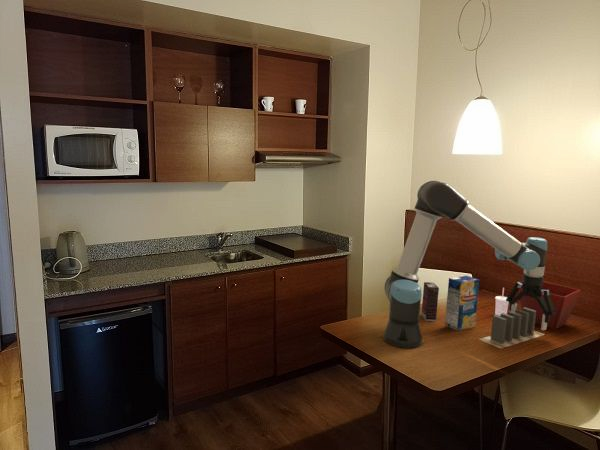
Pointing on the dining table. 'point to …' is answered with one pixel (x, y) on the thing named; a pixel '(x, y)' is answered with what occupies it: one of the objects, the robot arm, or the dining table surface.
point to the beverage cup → (501, 305)
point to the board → (514, 341)
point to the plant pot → (561, 301)
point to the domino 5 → (530, 320)
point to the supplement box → (430, 301)
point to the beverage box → (462, 302)
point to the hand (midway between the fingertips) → (527, 324)
